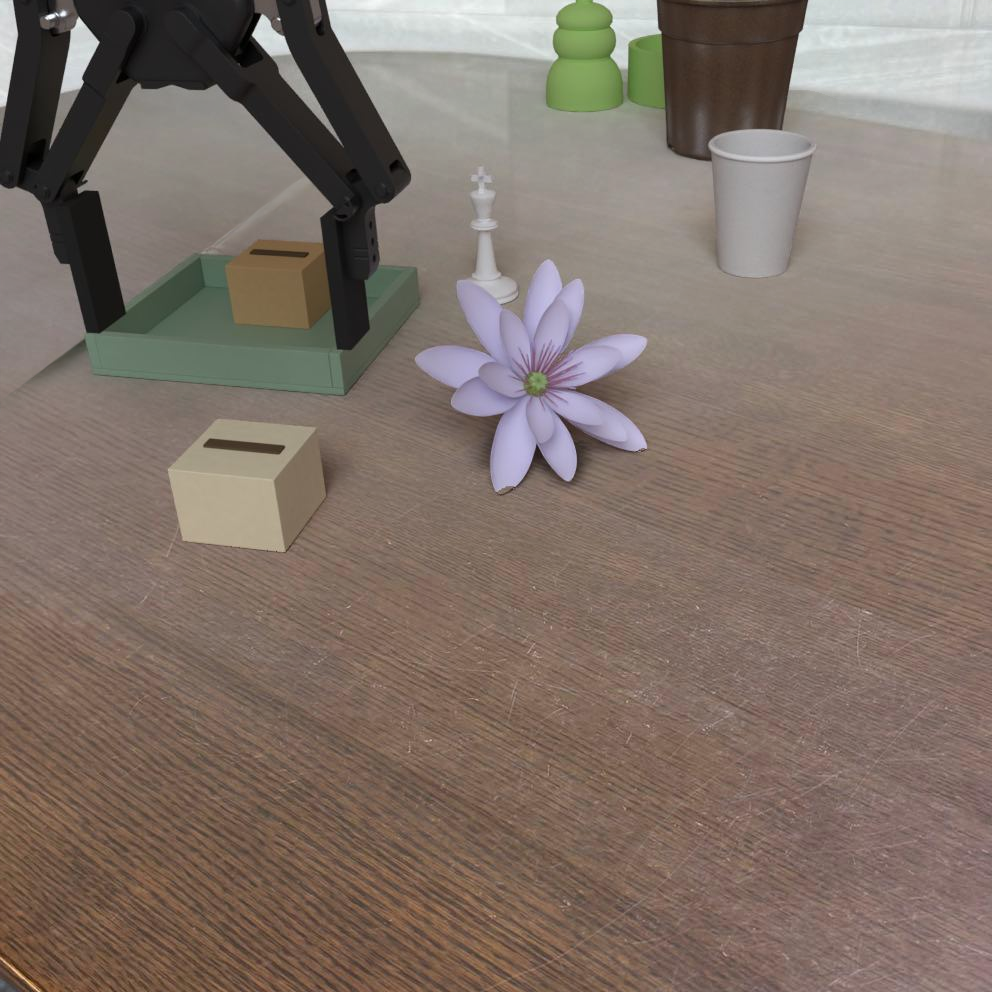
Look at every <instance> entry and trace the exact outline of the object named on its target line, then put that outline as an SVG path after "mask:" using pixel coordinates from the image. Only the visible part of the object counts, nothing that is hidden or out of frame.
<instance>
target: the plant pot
mask: <svg viewBox="0 0 992 992" xmlns="http://www.w3.org/2000/svg"><path fill="white" fill-rule="evenodd" d="M808 4H809V0H656V13H657V28H658V30H659V31H660V34H661V37H662V55H663V73H664V93H665V111H664V112H665V132H666V133H665V135H666V136H665V138H666V139H665V141H666V146H667V147H668V149H673V150H674V153H676V154H677V155H680V156H685V157H687V158H692V159H696V160H700V161H709V162H712V155H711V151H710V149H709V147H708V144H709V142H710V140H711V139H713V138H714V137H715V136H717V135H719V134H722V133H726V132H731V131H737V130H747V129H771V130H782V131H783V127H784V119H785V114H786V109H787V102H788V98H789V97H788V96H789V92H790V91H789V90H790V86H791V85H790V84H791V79H792V74H793V69H794V63H795V58H796V52H797V47H798V41H799V36H800V33H801V32H802V31H803V30H804V25H805V19H806V14H807V10H808Z"/></svg>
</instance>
